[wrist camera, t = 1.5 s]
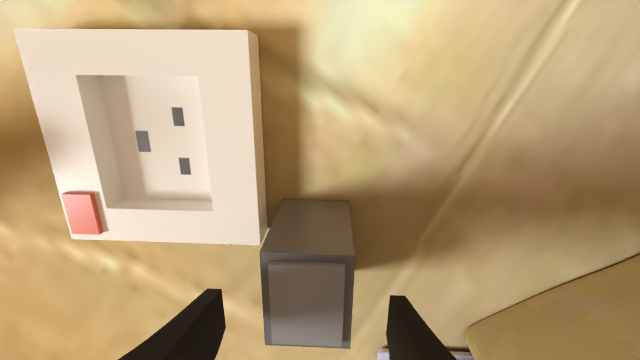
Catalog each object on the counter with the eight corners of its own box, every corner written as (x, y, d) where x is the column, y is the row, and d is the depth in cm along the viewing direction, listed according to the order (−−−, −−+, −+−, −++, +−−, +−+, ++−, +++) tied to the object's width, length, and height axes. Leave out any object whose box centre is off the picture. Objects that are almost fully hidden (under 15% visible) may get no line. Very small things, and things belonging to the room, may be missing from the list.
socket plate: (258, 35, 15) (245, 28, 13) (267, 228, 19) (258, 247, 17) (51, 34, 16) (6, 27, 14) (97, 223, 19) (67, 241, 17)
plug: (348, 200, 18) (355, 259, 12) (345, 271, 20) (350, 354, 14) (282, 198, 18) (257, 256, 12) (284, 269, 20) (263, 350, 14)
